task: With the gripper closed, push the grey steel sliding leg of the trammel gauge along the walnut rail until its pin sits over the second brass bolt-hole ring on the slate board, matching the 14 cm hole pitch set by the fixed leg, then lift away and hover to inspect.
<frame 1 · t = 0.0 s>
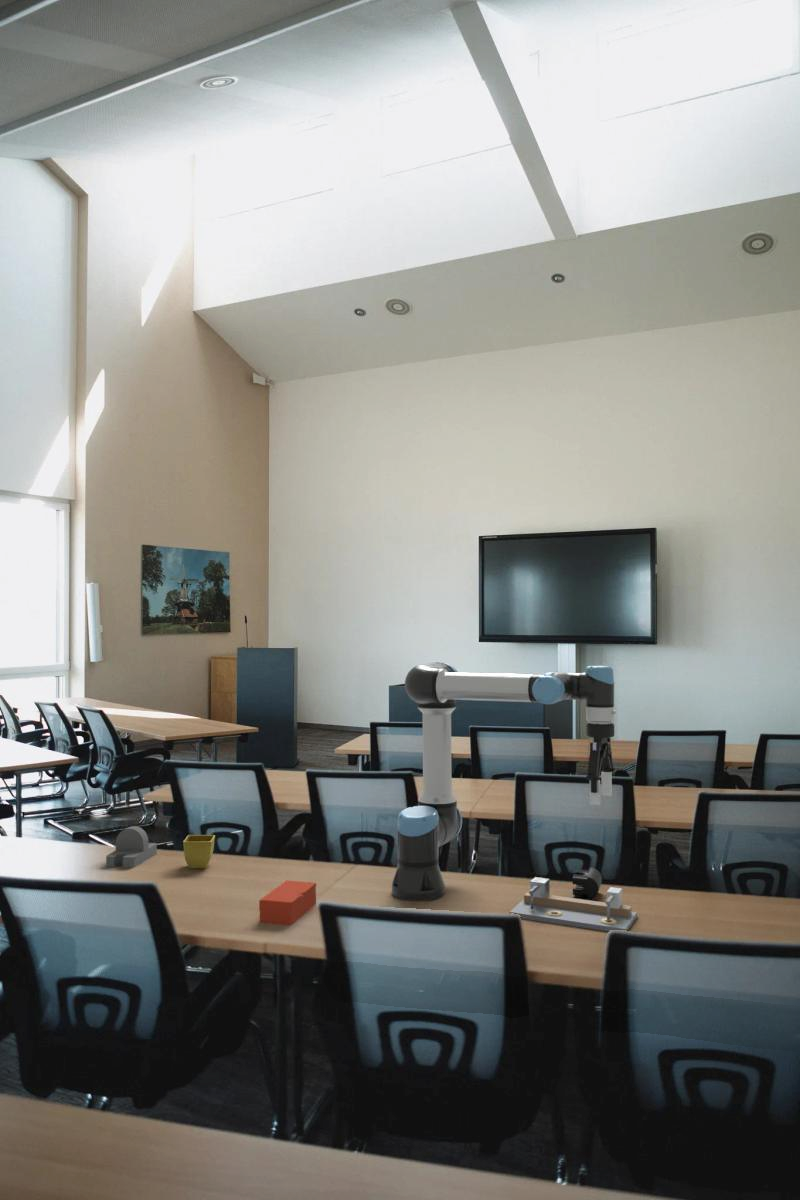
hand: (601, 800, 241), 28 cm above the table, fingers open, 13 cm apart
brick: (288, 914, 234), on the table
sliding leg: (536, 893, 234), point 5 cm above the table, slide at 2.0 cm
bracket: (132, 861, 287), on the table
flower pot: (199, 867, 278), on the table
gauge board: (573, 916, 229), on the table
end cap: (587, 896, 247), on the table
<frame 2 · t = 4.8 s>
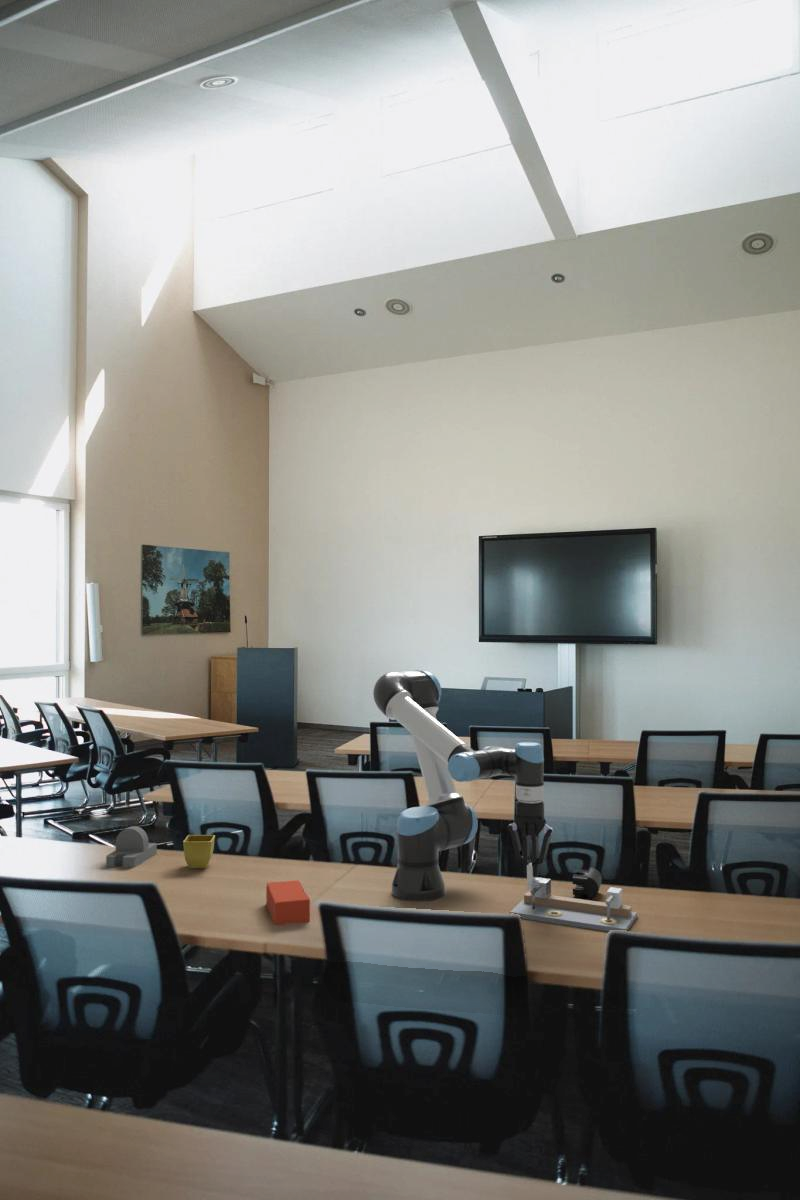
hand: (531, 888, 238), 5 cm above the table, fingers closed
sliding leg: (538, 893, 234), point 4 cm above the table, slide at 2.4 cm, touching gripper
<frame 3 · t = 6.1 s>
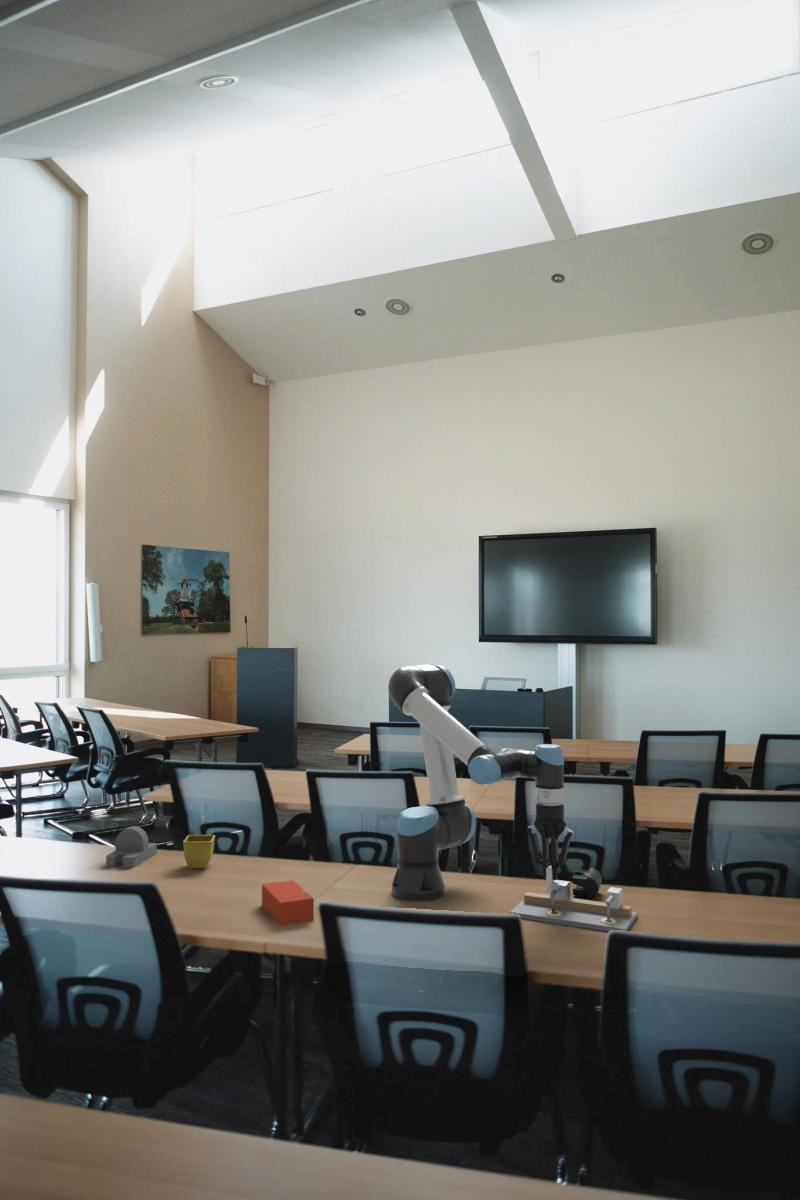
hand: (550, 891, 236), 5 cm above the table, fingers closed
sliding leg: (557, 896, 232), point 5 cm above the table, slide at 7.7 cm, touching gripper
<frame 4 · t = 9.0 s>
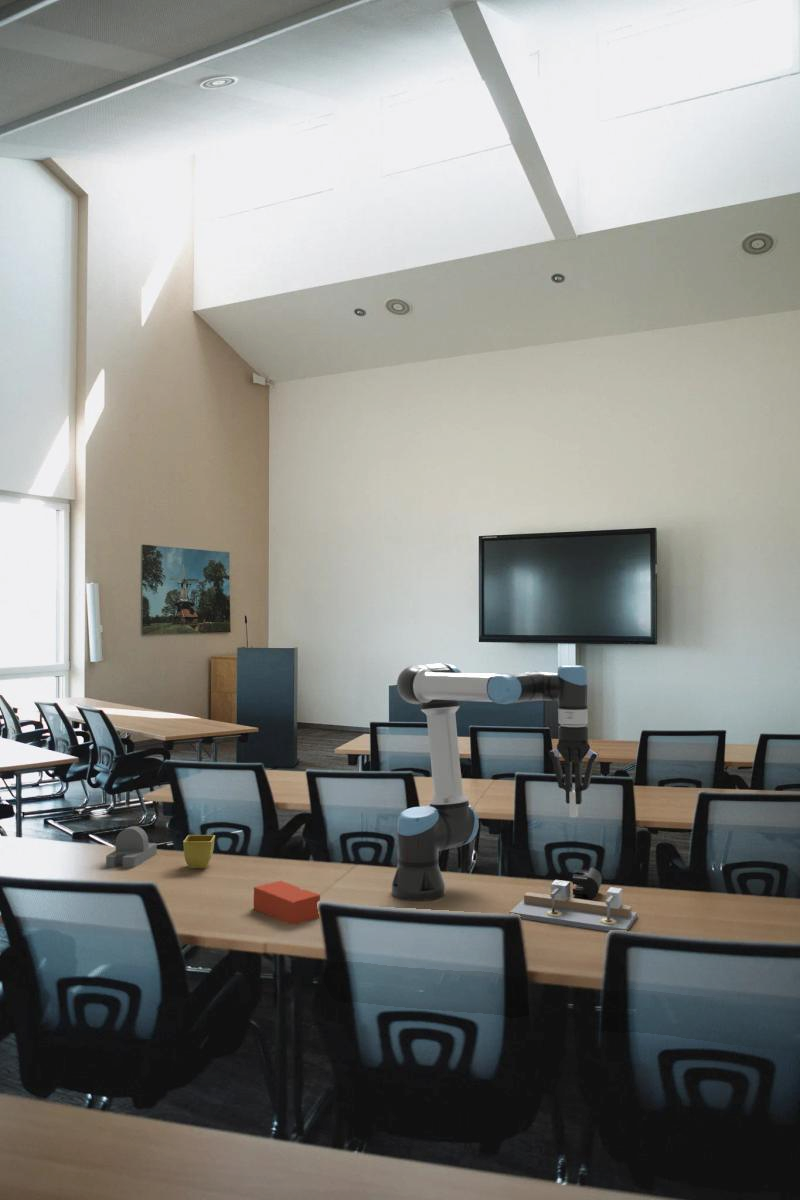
hand: (573, 816, 228), 26 cm above the table, fingers closed
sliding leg: (557, 896, 232), point 5 cm above the table, slide at 7.7 cm
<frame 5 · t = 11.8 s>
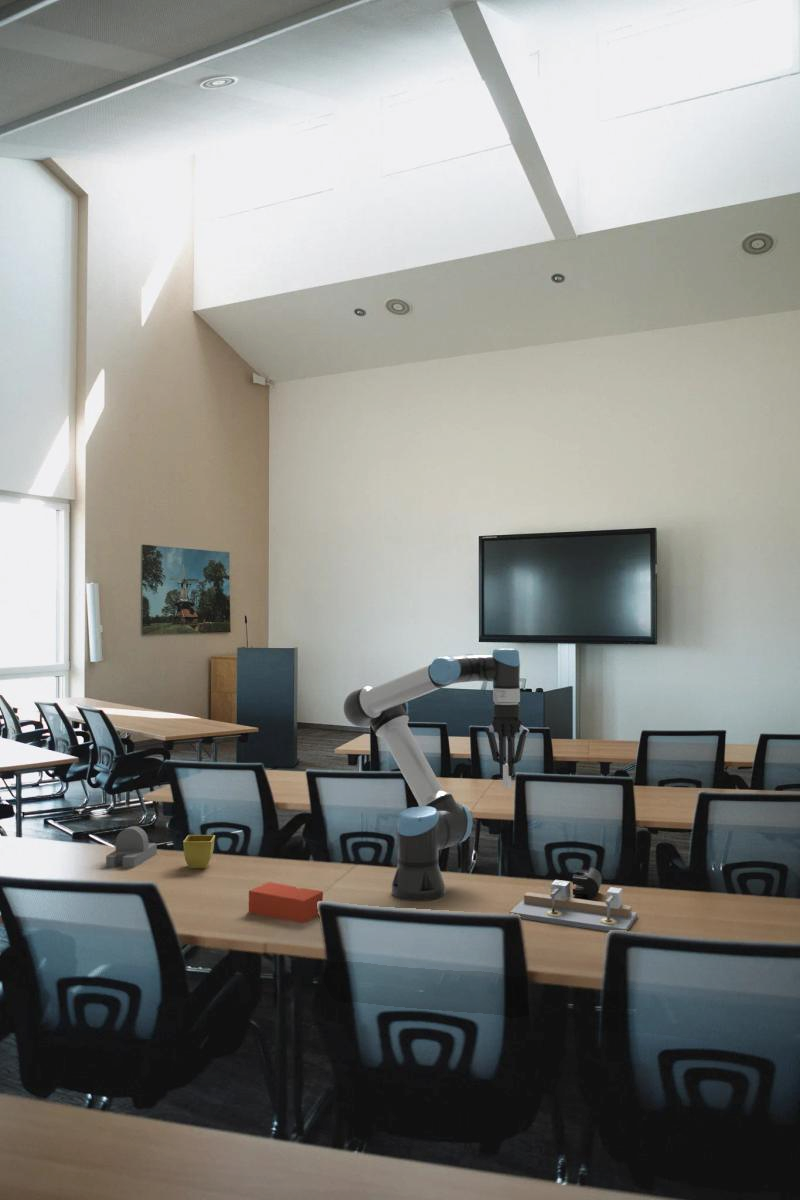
hand: (507, 787, 248), 30 cm above the table, fingers closed
at the end: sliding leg slide at 7.7 cm; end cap moved 0.3 cm from its start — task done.
